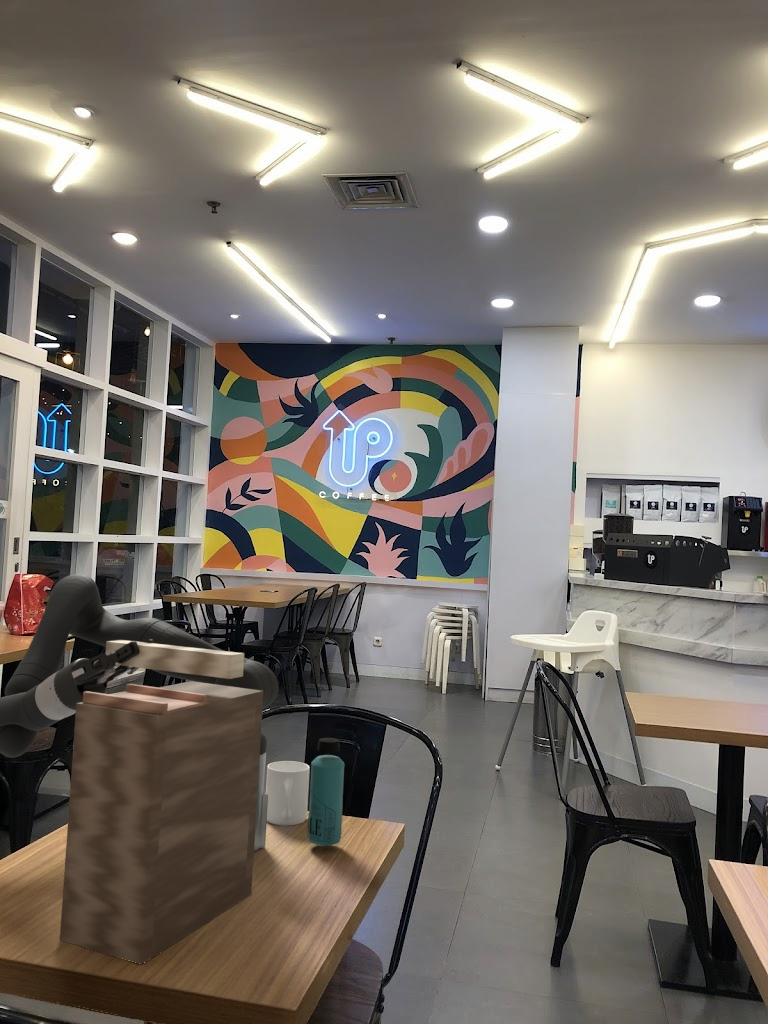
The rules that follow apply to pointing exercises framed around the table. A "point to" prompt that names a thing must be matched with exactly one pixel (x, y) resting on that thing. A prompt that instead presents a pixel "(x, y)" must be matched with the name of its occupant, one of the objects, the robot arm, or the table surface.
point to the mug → (287, 792)
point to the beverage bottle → (326, 795)
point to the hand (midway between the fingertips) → (145, 645)
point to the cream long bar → (183, 659)
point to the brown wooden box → (159, 814)
